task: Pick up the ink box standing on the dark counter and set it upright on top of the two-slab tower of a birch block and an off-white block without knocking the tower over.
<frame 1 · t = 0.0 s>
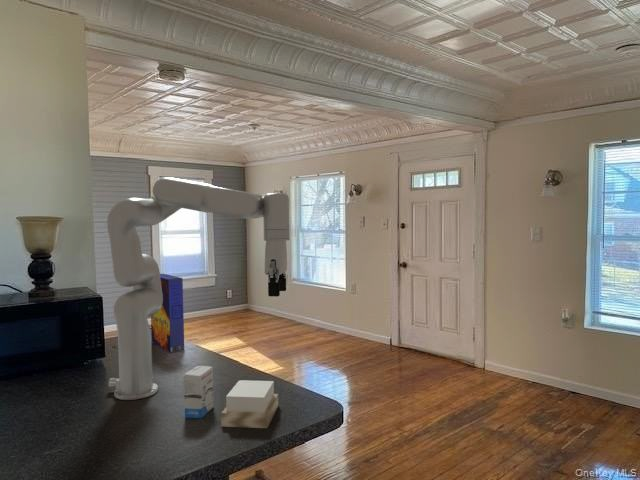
hand: (277, 293, 136), 31 cm above the kitchen counter, tool pointing down, fingers open, 9 cm apart
lower block: (251, 417, 125), on the kitchen counter, touching upper block
upper block: (251, 402, 125), point 3 cm above the kitchen counter, touching lower block
ink box: (199, 412, 127), on the kitchen counter
cereal box: (167, 346, 195), on the kitchen counter
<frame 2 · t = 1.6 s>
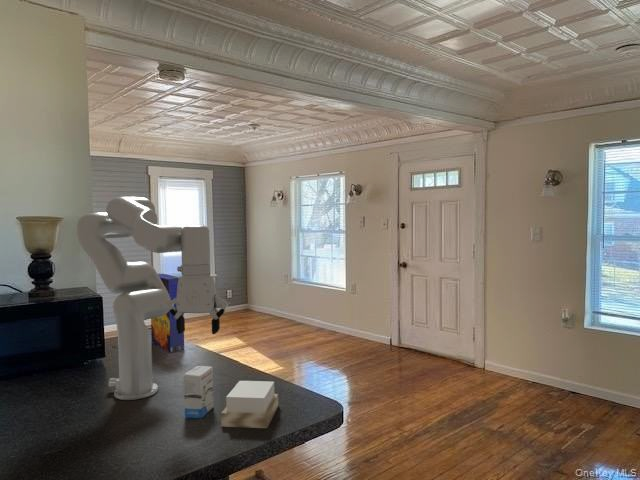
hand: (198, 332, 126), 22 cm above the kitchen counter, tool pointing down, fingers open, 9 cm apart
nothing on the kitchen counter moved.
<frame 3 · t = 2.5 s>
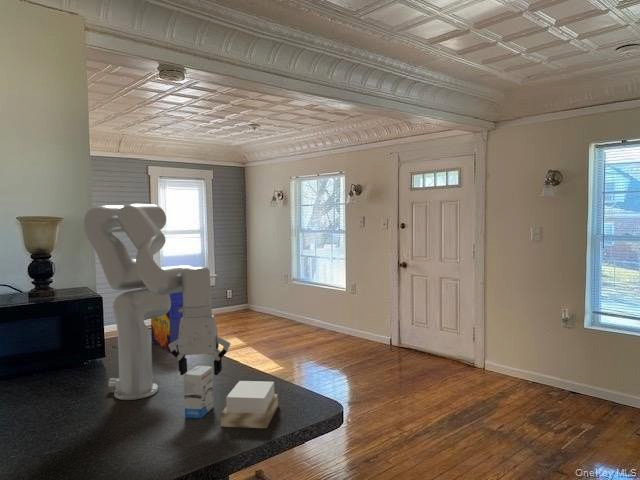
hand: (200, 373, 127), 11 cm above the kitchen counter, tool pointing down, fingers open, 9 cm apart
nothing on the kitchen counter moved.
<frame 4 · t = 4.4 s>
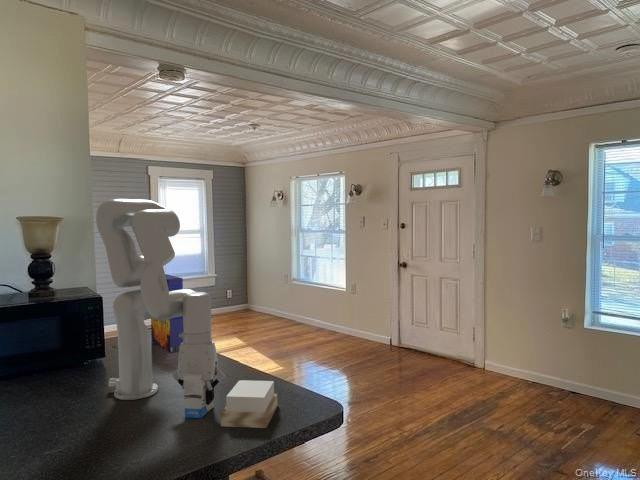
hand: (199, 401, 127), 3 cm above the kitchen counter, tool pointing down, fingers closed on ink box, 5 cm apart
ink box: (199, 412, 127), on the kitchen counter, touching gripper
everything else where it was.
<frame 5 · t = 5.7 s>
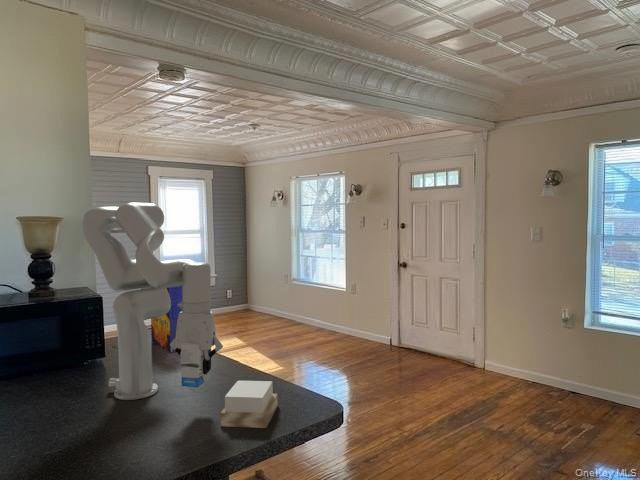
hand: (196, 371, 127), 11 cm above the kitchen counter, tool pointing down, fingers closed on ink box, 5 cm apart
ink box: (196, 382, 128), point 8 cm above the kitchen counter, touching gripper
everything else where it was.
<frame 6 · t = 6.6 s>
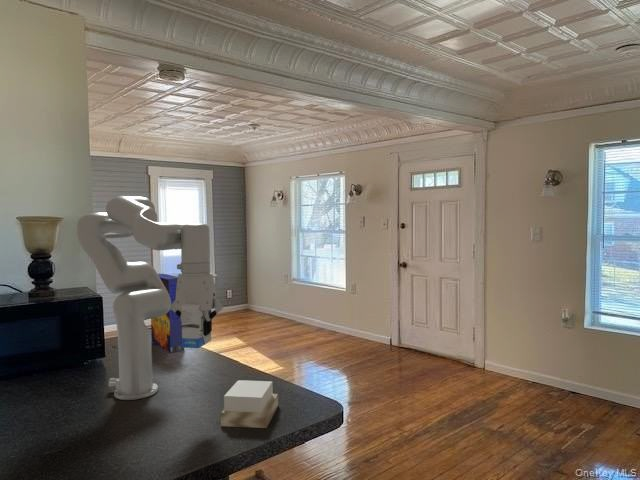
hand: (197, 333, 127), 22 cm above the kitchen counter, tool pointing down, fingers closed on ink box, 5 cm apart
ink box: (197, 344, 127), point 19 cm above the kitchen counter, touching gripper
everything else where it was.
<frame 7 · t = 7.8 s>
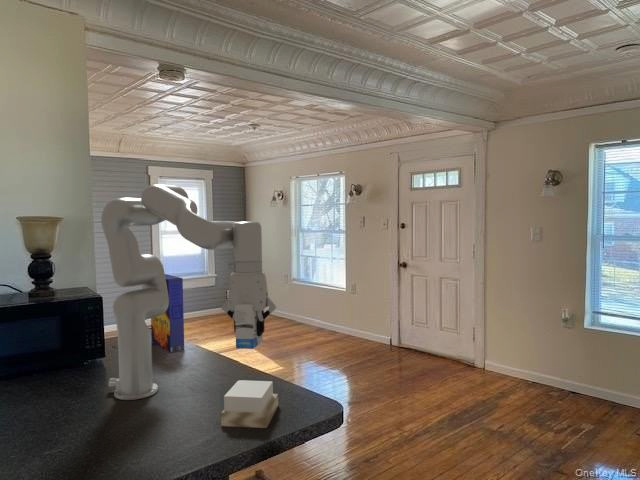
hand: (249, 334, 124), 22 cm above the kitchen counter, tool pointing down, fingers closed on ink box, 5 cm apart
ink box: (249, 345, 124), point 19 cm above the kitchen counter, touching gripper
everything else where it was.
when the fingers open (12 cm above the kitchen counter, at t = 10.0 s): ink box drops 1 cm, resting on upper block.
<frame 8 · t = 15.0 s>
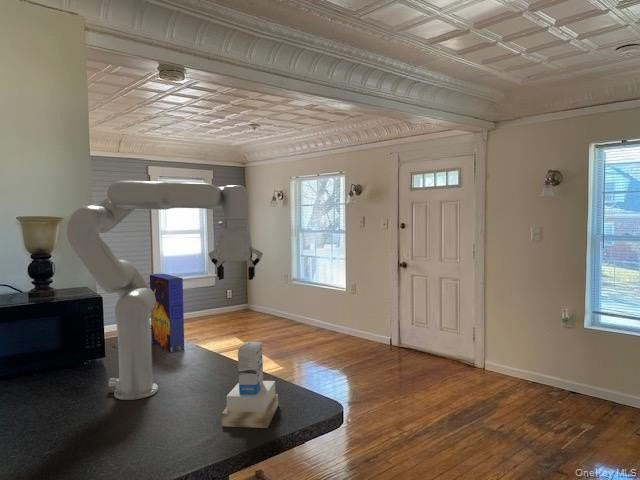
hand: (236, 279, 145), 34 cm above the kitchen counter, tool pointing down, fingers open, 9 cm apart
upper block: (252, 402, 125), point 3 cm above the kitchen counter, touching ink box, lower block
ink box: (251, 389, 124), point 7 cm above the kitchen counter, touching upper block
everything else where it was.
at the end: ink box inside the target area on the upper block (0.4 cm from its centre), point 3.8 cm above the upper block's base; ink box tilted 0°; upper block point 3.3 cm above the kitchen counter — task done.
